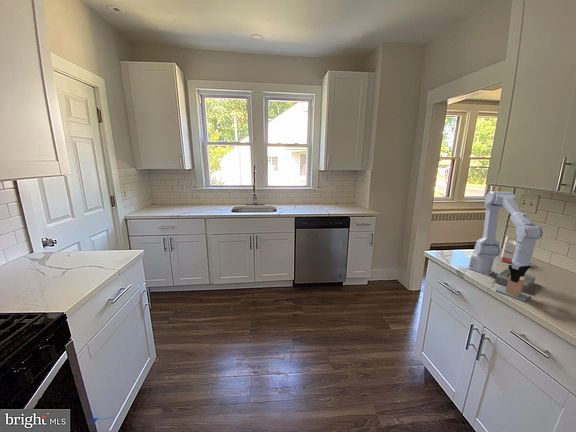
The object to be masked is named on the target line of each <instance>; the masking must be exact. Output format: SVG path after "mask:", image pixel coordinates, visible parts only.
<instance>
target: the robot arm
mask: <svg viewBox="0 0 576 432" xmlns="http://www.w3.org/2000/svg"><path fill="white" fill-rule="evenodd" d="M484 207H485V215H484V216H485V217H484V223H483V224H484V227H483V234H482V237H481V238H479V239H476V243H475V245H474V247H473V248H474V252H473V253H472V254H471V257H470V261H469V264H468V268H467V269H469V270H472V271H475V272H478V273H481V274H484V275H487V276H490V275H491V274H492V273H494V272H495V270H493V265H494V261H495V258H497V257H499V255H500V254H501V253H502V249H501V243H500V241H498V240H497V239H496V238H497V237H496V235H497V230H498V229H497V228H498V221H499V220H498V219H499V218H498V217H499V211H500V210H501V209H502V208H505V210H506V211H507V212H508V213H509V214H510V215H511V216H510V217H509V218H510V221H511V223H512V225H514V227H515V235H516V237H515V239H516V248H515V252H514V255H513V259H512V263H511V264H509V265H508V266H507V267H508V269H509V270H510V274H511V281H513V282H516V283H517V282H518V281H519V279H520V277H521V276H522V277H523V276H524V275H525V274H527V271H528V270H529V269H530V268H532V267H534V265H535V264H534V262H533V263H532V258H533V254H534V251H535V248H536V244H537V240H539V239H540V238H542V236H543V229H542V227H541V226H540V225H537V224H535V223H534V222H533V221H532V220H531V219H530V217H529V216H528V214H527V213H525V212H522V211H521V210H520V208H519V206H518V205H517V203H516V195H515V194H514V192H512V191H493V190H490V191H488V192H487V194H485V198H484Z"/></svg>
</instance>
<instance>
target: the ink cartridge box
mask: <svg viewBox="0 0 576 432" xmlns="http://www.w3.org/2000/svg"><path fill="white" fill-rule="evenodd" d="M508 239H509V237H508V235H506V237H505V240H504V243H503V247H502V250H501V255H500V260H501V262H505V263H508V264H513V263H512V259H513V256H514V252H515V248H516V244H517V241H515V240H508Z"/></svg>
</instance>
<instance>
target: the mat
mask: <svg viewBox="0 0 576 432" xmlns="http://www.w3.org/2000/svg"><path fill="white" fill-rule="evenodd" d="M505 290H506V286H504V285H501V286H500V287H498V288H497V289H496V290H495V292H496V293H499V294H502V295H506V296H508V297H510V298H513V299H515V300H517V301H522V302H526V301H527V300H528V299H529V298H531V294H530V293H529V294H528V293H525V292H522V293H521V294H520V295H519V296H515V295H512V294H510V293H507V292H505Z"/></svg>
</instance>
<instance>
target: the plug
mask: <svg viewBox="0 0 576 432" xmlns="http://www.w3.org/2000/svg"><path fill="white" fill-rule="evenodd" d="M524 281H525V277H522V276H521V277H520V279H519V281H518V282H517V283H516V282H513V281H511V275H510V276H509V278H508V282H507V286H506V290H505V292H507V293H510V294H512V295H515V296H519V295H520V294H521V293H522V289H523V285H524Z"/></svg>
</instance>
